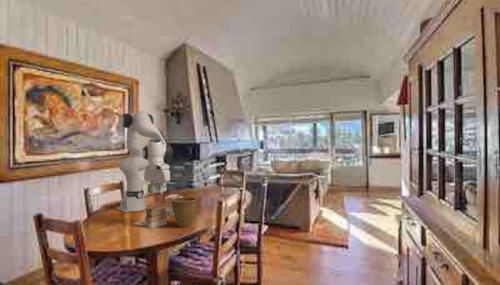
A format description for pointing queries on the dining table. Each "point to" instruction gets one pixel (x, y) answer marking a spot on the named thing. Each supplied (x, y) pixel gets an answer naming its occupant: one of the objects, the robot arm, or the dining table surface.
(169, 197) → the stack of blocks
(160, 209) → the brick walnut
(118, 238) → the dining table surface
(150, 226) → the base brick
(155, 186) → the brick sage
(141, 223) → the page
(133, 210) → the robot arm
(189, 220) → the plant pot
